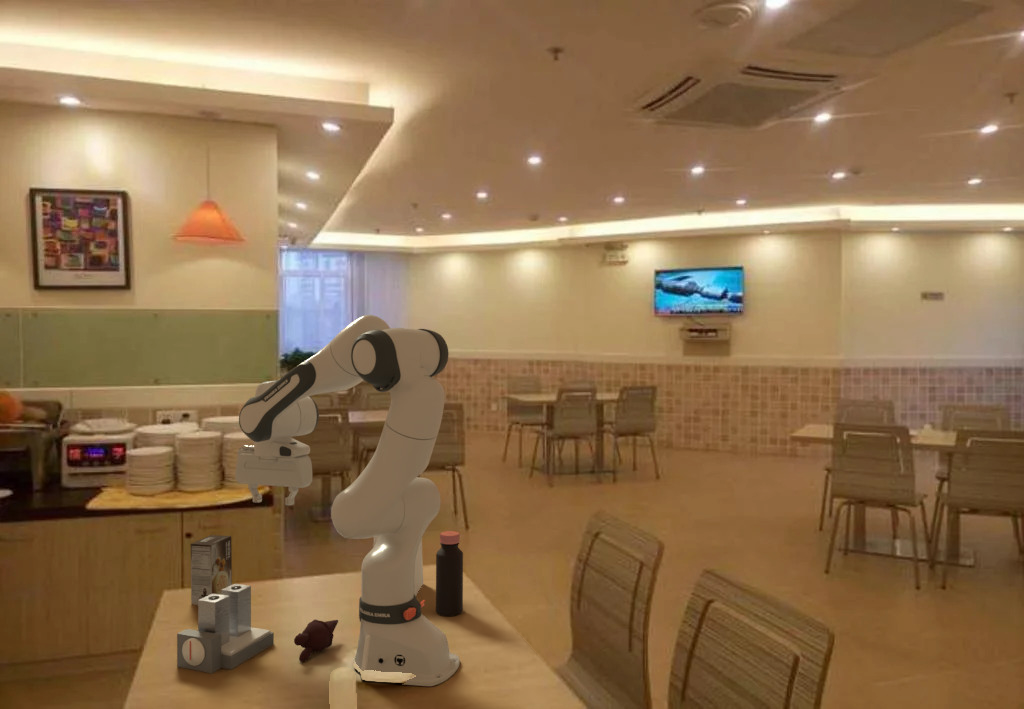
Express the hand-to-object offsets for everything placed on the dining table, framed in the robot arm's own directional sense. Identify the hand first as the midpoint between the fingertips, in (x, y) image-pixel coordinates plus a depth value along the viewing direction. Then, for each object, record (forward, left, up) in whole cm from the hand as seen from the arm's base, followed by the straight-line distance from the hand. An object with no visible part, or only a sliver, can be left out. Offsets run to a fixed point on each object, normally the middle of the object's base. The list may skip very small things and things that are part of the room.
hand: (273, 503), depth 183 cm
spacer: (-2, +16, -26) cm, 30 cm away
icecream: (-20, +11, -29) cm, 37 cm away
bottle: (-38, -20, -29) cm, 52 cm away
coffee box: (+24, -6, -29) cm, 38 cm away
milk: (-18, -30, -29) cm, 45 cm away
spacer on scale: (-2, +23, -26) cm, 34 cm away
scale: (-2, +21, -29) cm, 35 cm away
